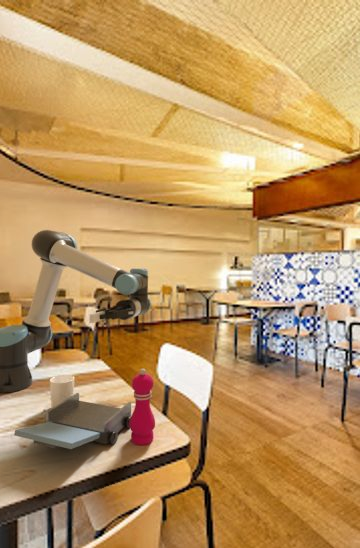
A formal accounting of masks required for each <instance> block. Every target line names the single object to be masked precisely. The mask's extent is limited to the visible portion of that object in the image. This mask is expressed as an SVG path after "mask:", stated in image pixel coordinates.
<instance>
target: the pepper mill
mask: <svg viewBox="0 0 360 548" xmlns="http://www.w3.org/2000/svg"><path fill="white" fill-rule="evenodd" d="M153 379H154V378H153V376H151V375H150V374H148V373H147V370H146V369H145V368H140V370H139V374H136V375H135V376H134V377H133V379H132V381H131V382H132V383H131V387H132V389H133V391H134V392H133V398H134V399H135V402H134V403H135V406H134V409H133V412H132V413H131V419H130V425H129V426H130V428H129V430H131V431H132V432H131V434H130V441H131V442H132V444H134V445H137V446H146V445H149V444H150V443H151V444H152V442H153V441H154V429H155V427H156V419H155V415H154V414H153V411H152V409H151V404H150V403H151V402H150V401H151V399H152V390H153V388H154V380H153Z"/></svg>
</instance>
